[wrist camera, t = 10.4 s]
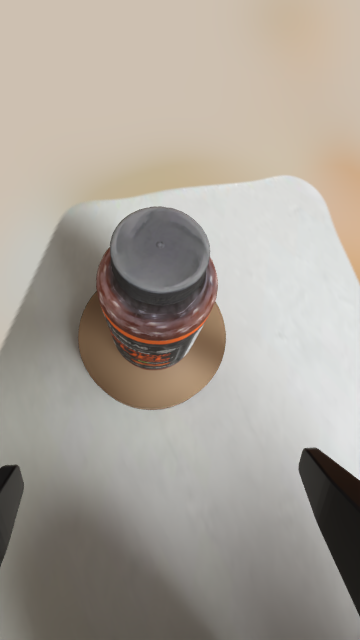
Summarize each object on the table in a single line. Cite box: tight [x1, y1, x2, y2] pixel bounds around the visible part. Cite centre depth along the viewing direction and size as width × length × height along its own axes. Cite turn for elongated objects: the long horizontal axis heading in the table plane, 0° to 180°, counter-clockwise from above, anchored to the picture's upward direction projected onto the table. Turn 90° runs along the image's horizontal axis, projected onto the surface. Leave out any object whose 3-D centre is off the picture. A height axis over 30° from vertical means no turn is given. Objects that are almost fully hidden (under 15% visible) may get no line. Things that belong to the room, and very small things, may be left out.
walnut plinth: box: [78, 291, 226, 410], centre depth 23 cm, size 11×11×2 cm
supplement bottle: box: [96, 207, 218, 370], centre depth 17 cm, size 6×6×11 cm
